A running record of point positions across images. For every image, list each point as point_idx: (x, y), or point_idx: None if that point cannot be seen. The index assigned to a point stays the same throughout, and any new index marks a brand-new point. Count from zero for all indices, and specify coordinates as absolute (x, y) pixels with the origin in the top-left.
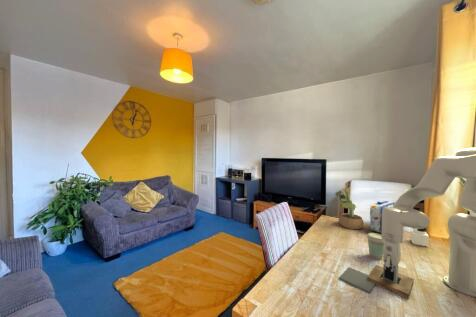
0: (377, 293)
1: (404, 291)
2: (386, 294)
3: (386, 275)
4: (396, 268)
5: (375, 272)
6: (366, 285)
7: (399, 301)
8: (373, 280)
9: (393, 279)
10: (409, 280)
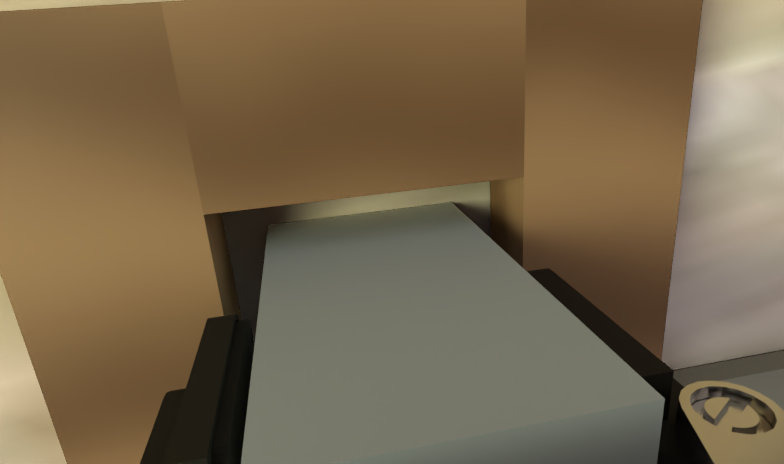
0: (780, 294)
1: (663, 44)
2: (731, 222)
3: None
4: (612, 413)
5: None
6: None
7: (780, 63)
8: None
9: (559, 277)
10: (125, 71)
